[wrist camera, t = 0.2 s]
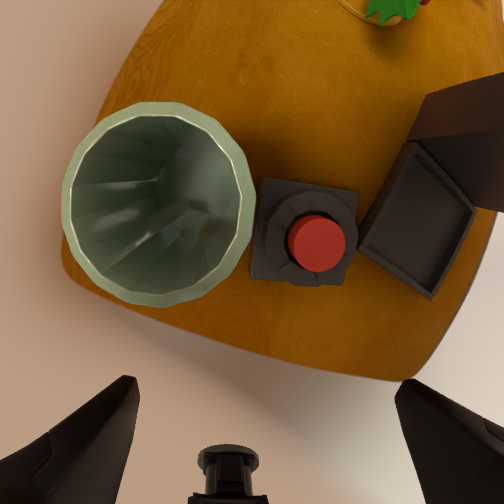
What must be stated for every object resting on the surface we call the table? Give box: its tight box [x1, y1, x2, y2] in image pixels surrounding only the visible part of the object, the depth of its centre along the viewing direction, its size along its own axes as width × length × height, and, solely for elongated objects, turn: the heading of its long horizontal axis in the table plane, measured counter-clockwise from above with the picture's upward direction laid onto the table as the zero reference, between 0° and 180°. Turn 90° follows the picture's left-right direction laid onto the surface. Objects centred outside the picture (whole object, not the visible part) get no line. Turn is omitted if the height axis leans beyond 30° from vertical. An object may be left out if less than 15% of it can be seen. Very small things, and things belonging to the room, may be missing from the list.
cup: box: [61, 102, 256, 308], centre depth 14 cm, size 7×7×12 cm
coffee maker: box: [356, 72, 504, 301], centre depth 14 cm, size 16×10×14 cm, turn 150°
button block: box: [248, 177, 359, 287], centre depth 19 cm, size 7×7×4 cm
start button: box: [288, 215, 345, 272], centre depth 17 cm, size 3×3×2 cm
